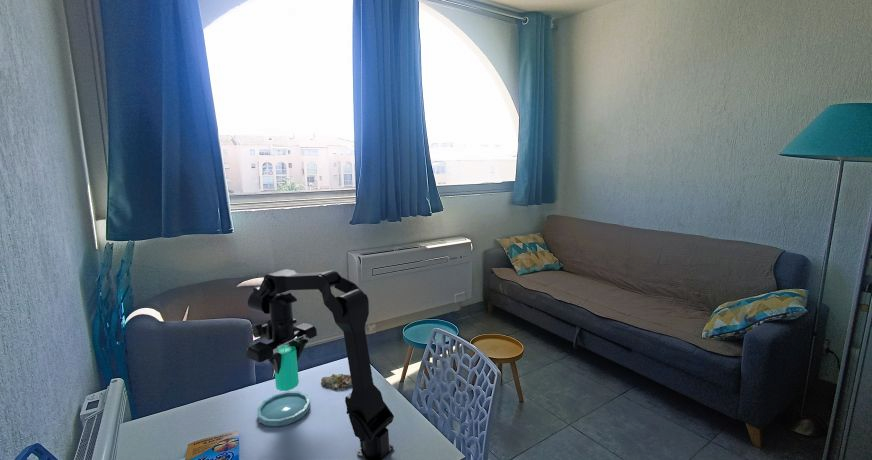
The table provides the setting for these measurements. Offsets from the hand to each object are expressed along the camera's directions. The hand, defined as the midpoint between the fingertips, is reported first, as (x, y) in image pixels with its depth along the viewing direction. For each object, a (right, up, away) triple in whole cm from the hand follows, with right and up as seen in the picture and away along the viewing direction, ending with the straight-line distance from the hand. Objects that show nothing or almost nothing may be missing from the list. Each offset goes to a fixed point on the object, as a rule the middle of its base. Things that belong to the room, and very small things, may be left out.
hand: (286, 369), depth 110 cm
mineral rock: (+10, -11, +17) cm, 23 cm away
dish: (-2, -13, +3) cm, 14 cm away
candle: (0, -5, +1) cm, 5 cm away
